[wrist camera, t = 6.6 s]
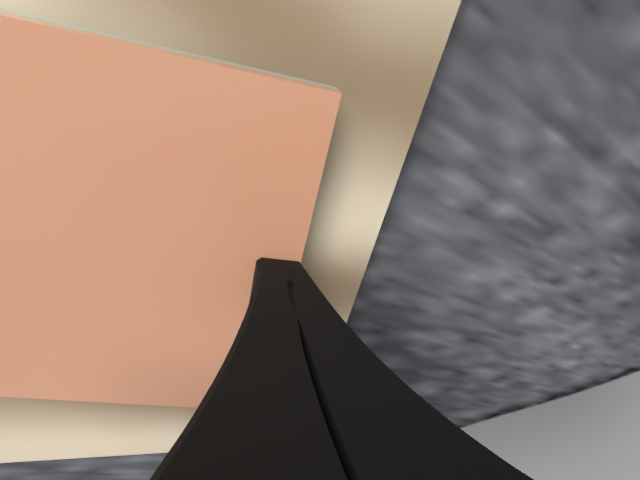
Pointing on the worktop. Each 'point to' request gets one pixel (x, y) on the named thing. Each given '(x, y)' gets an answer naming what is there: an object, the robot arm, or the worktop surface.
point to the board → (337, 178)
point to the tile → (141, 208)
